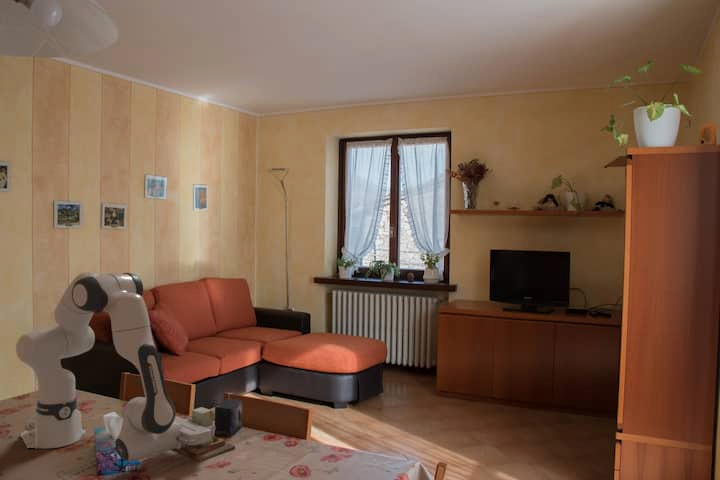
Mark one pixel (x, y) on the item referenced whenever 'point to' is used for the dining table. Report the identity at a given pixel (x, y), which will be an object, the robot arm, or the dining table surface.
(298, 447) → the dining table surface
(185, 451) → the wooden board with frame
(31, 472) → the dining table surface
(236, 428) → the small box
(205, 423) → the skincare box
